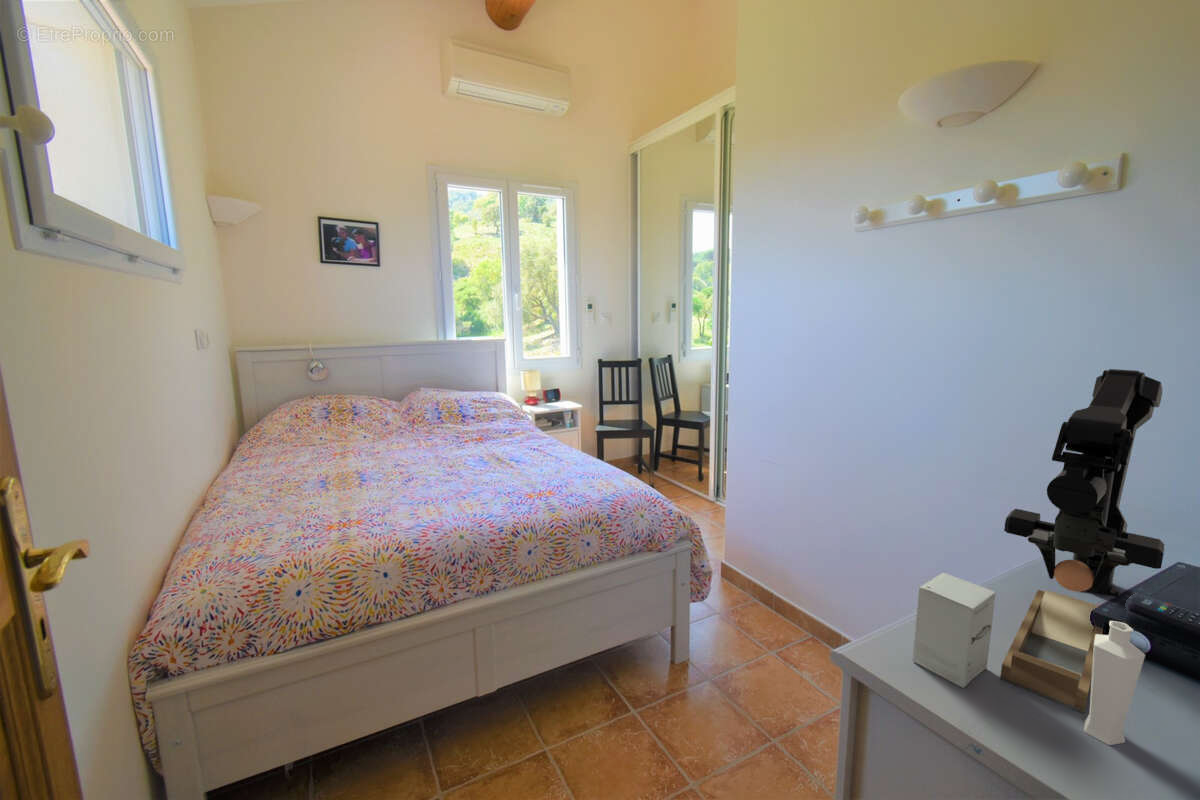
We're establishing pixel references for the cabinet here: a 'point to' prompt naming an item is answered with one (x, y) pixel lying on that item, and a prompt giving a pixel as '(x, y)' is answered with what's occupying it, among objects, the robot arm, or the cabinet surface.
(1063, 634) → the wooden tray
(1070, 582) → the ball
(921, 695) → the cabinet surface
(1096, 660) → the perfume bottle
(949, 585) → the supplement box
